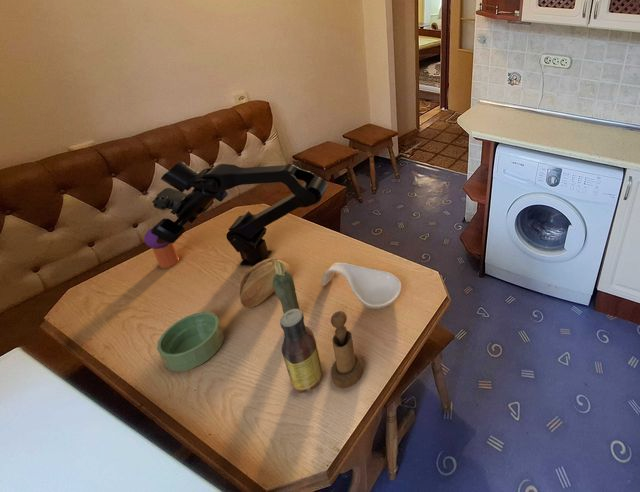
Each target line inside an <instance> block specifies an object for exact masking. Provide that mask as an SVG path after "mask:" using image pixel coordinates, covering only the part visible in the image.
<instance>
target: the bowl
mask: <svg viewBox="0 0 640 492" xmlns="http://www.w3.org/2000/svg"><path fill="white" fill-rule="evenodd" d="M224 335H225V334H224V331H223V328H222V325H221V322H220V319H219V317H218V316H217V315H216V314H215V313H212V312H210V311H209V312H208V311H202V312H201V311H200V312H196V313H192V314H189V315H187V316H185V317H183V318H181V319H179V320H177V321H176V322H174V323H173V324H172V325H170V326H169V327H168V328H166V330H165V331H164V332H162V334H161V336H160V338H159V339H158V341H157V346H156V350H157V352H158V354H159V356H160V358H161V360H162V362H163V364H164V366H165V369H167V370H169V371H171V372H178V373H179V372H185V371H188V370H192V369H195V368H197V367H199V366H200V365H202V364H203V363H206V362H207V361H208V360H210V359H211V358H212V357H213V356H214V355H215V354H216V353H217V352H218V350H220V348H221V347H222V344H223V342H224V339H225V336H224Z"/></svg>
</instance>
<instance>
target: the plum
mask: <svg viewBox="0 0 640 492" xmlns="http://www.w3.org/2000/svg"><path fill="white" fill-rule="evenodd" d="M152 228H153V227H151V228H150V229H148V230H147V232H146V233H145V234H144V243H145V244H146V246H148V247H150V248H151V249H152V248H162V247H165V246H166V245H168V244H169V242H166V243H163V244H158V243H157V238H158V236H156V235H154V234H152V233H151V230H152Z"/></svg>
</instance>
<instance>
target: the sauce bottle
mask: <svg viewBox="0 0 640 492" xmlns="http://www.w3.org/2000/svg"><path fill="white" fill-rule="evenodd" d="M279 323H280V327H281V329H282V330H283V336H284V337H283V341H282V344H281V355H282V358H283V361H284V363H285V367H286V370H287V374H288V377H289V381H290V383H291V386H292V387H293V389H294V390H295V391H296V392H299V393H300V394H301V393H302V394H305V393H308V392H310V391H313V390H314V389H316V388H317V387H318V386H319V384H320V382H321V381H322V378H323V374H324V373H323V365H322V361H321V357H320V352H319V348H318V343H317V340H316V337H315V334H314V332H313V330H312V329H311V328H309V327H308V326H306V324H305V317H304V312H303V311H302V310H301V309H300V308H299V309H291V310H289V311H287V312H286V313H285V314H284V313H283V315H281V317H280V320H279Z"/></svg>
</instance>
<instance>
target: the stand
mask: <svg viewBox="0 0 640 492" xmlns="http://www.w3.org/2000/svg"><path fill="white" fill-rule="evenodd" d="M151 249H152V252H153V254H154V256H155V259H156V261H157V263H158V266H159V267H160V268H161V269H168V268H170V267H174V266H175V265H177V264H178V263H179V261H180V257H179V254H178V252H177V250H176V249H177V248H176V247H175V243H169V244H168V245H166V246H165V247H162V248H152V247H151Z"/></svg>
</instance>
